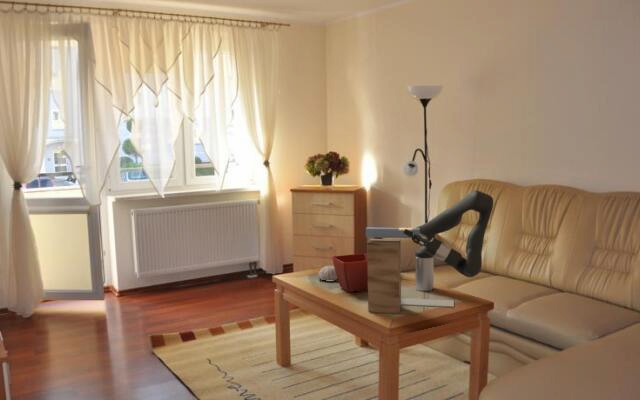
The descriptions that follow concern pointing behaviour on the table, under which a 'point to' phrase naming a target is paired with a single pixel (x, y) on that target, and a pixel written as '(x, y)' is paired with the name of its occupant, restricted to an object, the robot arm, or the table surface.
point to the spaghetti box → (389, 232)
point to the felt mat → (427, 302)
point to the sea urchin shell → (327, 273)
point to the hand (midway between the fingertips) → (405, 230)
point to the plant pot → (352, 271)
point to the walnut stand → (384, 275)
